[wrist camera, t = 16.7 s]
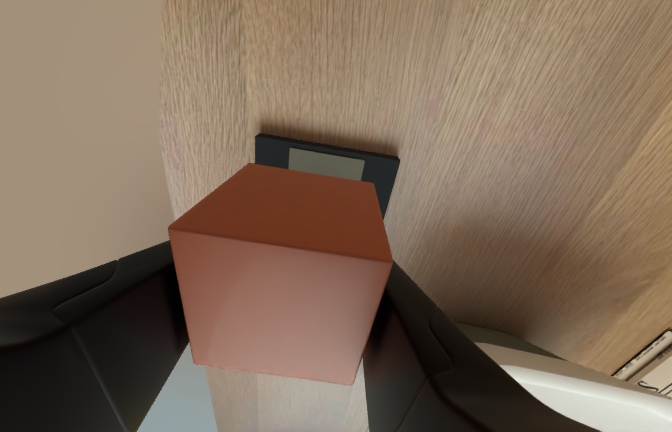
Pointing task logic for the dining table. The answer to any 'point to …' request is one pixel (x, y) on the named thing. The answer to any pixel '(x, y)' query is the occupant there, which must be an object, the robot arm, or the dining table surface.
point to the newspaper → (652, 367)
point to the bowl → (575, 386)
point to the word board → (329, 162)
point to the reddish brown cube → (282, 273)
